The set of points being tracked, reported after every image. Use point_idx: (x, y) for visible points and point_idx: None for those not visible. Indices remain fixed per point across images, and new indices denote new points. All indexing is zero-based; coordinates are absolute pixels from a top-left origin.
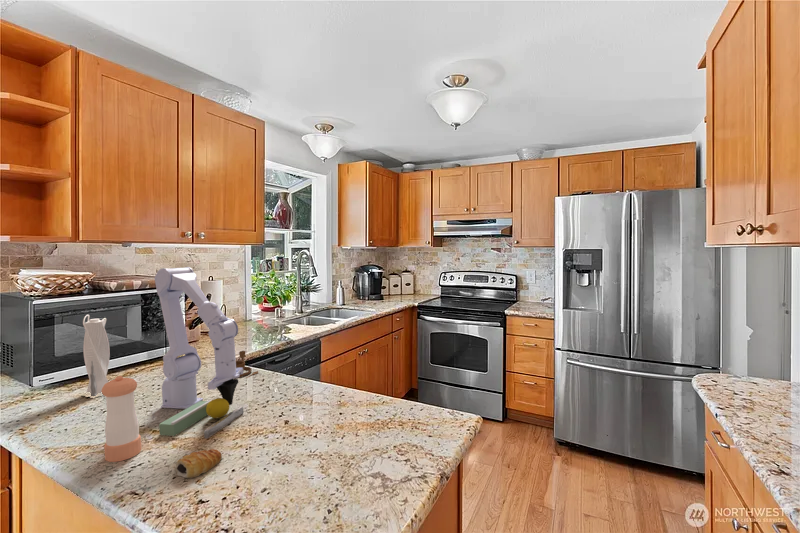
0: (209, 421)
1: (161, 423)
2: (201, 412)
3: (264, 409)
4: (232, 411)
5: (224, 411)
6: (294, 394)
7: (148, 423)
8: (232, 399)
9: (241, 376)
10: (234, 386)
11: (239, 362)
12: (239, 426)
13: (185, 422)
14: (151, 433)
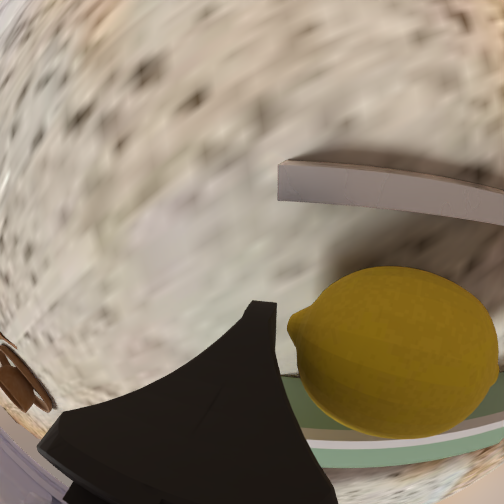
0: None
1: (497, 441)
2: None
3: (195, 36)
4: (412, 209)
5: (437, 275)
6: (21, 58)
7: (381, 474)
8: (245, 319)
9: (20, 361)
10: (171, 425)
11: (2, 384)
12: (495, 85)
13: (487, 397)
14: None
